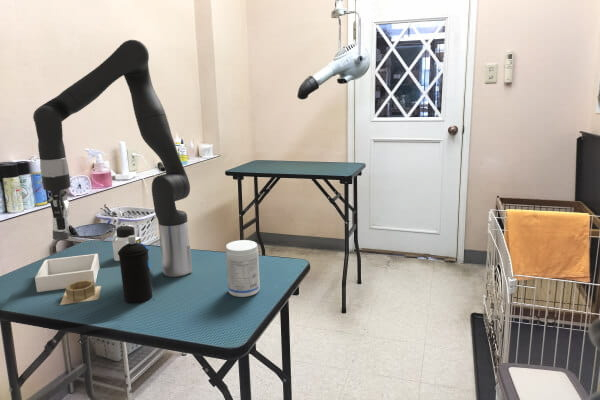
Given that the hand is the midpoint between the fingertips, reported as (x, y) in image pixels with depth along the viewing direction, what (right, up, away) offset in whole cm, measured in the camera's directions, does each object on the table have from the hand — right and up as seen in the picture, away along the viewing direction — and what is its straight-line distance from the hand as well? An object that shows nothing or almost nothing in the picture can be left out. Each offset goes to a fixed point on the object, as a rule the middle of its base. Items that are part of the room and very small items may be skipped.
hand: (63, 227), depth 149 cm
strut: (-1, -3, +1) cm, 4 cm away
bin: (0, -18, +4) cm, 18 cm away
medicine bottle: (+12, -13, +25) cm, 30 cm away
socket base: (+10, -21, -8) cm, 24 cm away
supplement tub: (+57, -19, -5) cm, 60 cm away
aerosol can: (+27, -21, -11) cm, 36 cm away
